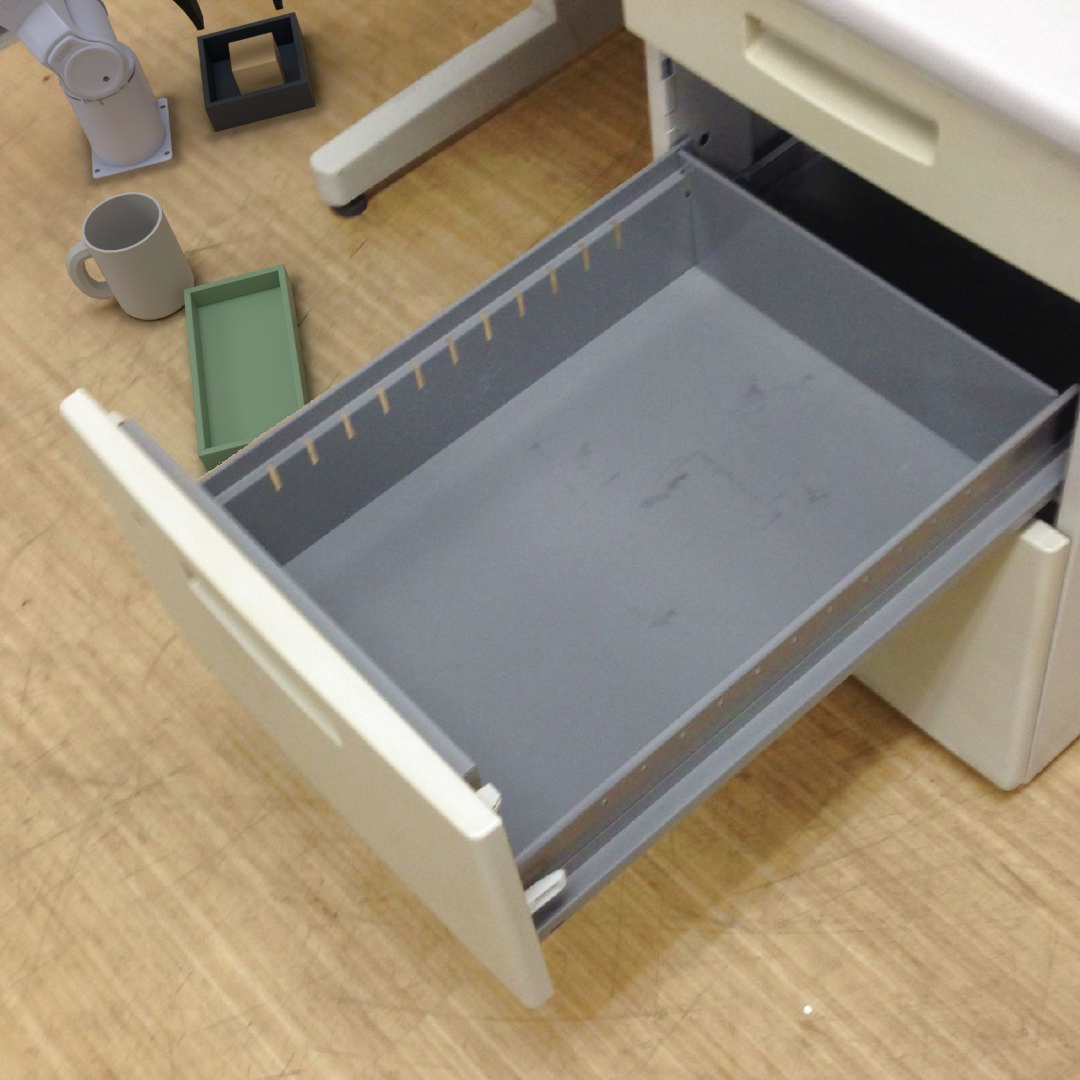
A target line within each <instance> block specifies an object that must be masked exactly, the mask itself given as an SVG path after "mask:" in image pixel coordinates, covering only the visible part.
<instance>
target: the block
mask: <svg viewBox="0 0 1080 1080" xmlns="http://www.w3.org/2000/svg"><path fill="white" fill-rule="evenodd" d="M229 51H230V59H231V66H232V72H233V75H234V77H235V80H236V82H237V85H238V88H239V90H240V93H241V95H243V94H247V93H251V92H255V91H259V90H263V89H266V88H270V87H274V86H278V85H282V84H286V83H287V80H286V74H285V68H284V65H283V63H282V60H281V57H280V54H279V51H278V49H277V46H276V43H275V40H274V37H273V34H272V32H271V33H267V34H263V35H259V36H255V37H251V38H247V39H244V40H240V41H236V42H232V43H229Z"/></svg>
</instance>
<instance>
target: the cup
mask: <svg viewBox="0 0 1080 1080" xmlns="http://www.w3.org/2000/svg"><path fill="white" fill-rule="evenodd" d="M80 235H81V238H82V240H79V241H78V242H76V243H75V244H73V245H72V247H71V248H70V250H69V251H68V253H67V255H66V258H65V268H66V272H67V274H68V277H69V278H70V280H71V281H72V283H73V284H74V285H75V286H76V287H77V288H78V290H79V291H80V292H81V293H83V294H84V295H86V296H88V297H89V298H91V299H94V300H98V301H103V300H111V299H115V300H116V301H117V303H118V304H119V306H120V307H121V309H122V310H123V311H124V313H126V314H127V315H129V316H131V317H133V318H135V319H139V320H144V321H153V320H159V319H164V318H165V317H168V316H171V315H173V314H175V313H176V312H177V311H179V310H181V309H182V308H183V307H184V306H185V301H184V289H188V288H192V287H195V275H194V273H193V271H192V268H191V265H190V264H189V261H188V259H187V257H186V255H185V253H184V251H183V249H182V246H181V245H180V243H179V240H178V239H177V236H176V234H175V233H174V231H173V228H172V226H171V224H170V222H169V220H168V218H167V216H166V214H165V212H164V210H163V208H162V206H161V204H160V202H159V201H158V200H157V199H156V198H155V197H154V196H152V195H149V194H148V193H144V192H139V191H127V192H122V193H117V194H115V195H113V196H110V197H107V198H106V199H104V200H103V201H101V202H98V203H97V204H96V205H95V206H94V207H93V208H92V209H91V210H90V211H89V212H88V213H87V215H86V216H85V218H84V219H83V222H82V225H81V233H80ZM89 259H93V261H95V264H96V266H97V268H98V269H99V271H100V273H101V276H103V278H104V280H105V281H104V280H103V281H102V280H101V281H99V280H97V279H95V278H93V277H92V276H91V275H90V274H89V271H88V270H87V267H86V264H85V262H86V261H87V260H89Z"/></svg>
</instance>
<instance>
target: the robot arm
mask: <svg viewBox="0 0 1080 1080" xmlns="http://www.w3.org/2000/svg"><path fill="white" fill-rule="evenodd" d="M172 1H173V2H174V3H175V4H176V5H177V6H178V7H179V8H180V9H181V10H182V11H183V13H184V14H185V15H186V16H187V18H189V20H190V22H191V23H192V25H194V27H195V29H196V30H197V31H199V32H200V31H203V30H205V22H204V15H203V11H202V9H201V6H200V4H199V2H198V0H172ZM272 2H273V3H272V4H273V6H274V8H275V11H280V10H283V9H284V3H283V0H272ZM0 26H1V27H2V28H4V29H6V30H7V31H9V32H11V33H12V34H14V35H15V36H16V37H17V38H18V39H19V41H20V42H21V43H22V44H23V45H24V46H25V47H26V49H27V50H28V51H29V52H30V53H31V55H32V56H33V57H34V59H36V61H37V62H38V63H39V64H40V65H41V66H43V67H45V68H47V69H48V70H50V71H51V72H53V73H54V75H55V76H56V77H57V78H58V82H59V85H60V87H61V89H62V91H63V93H64V95H65V97H66V99H67V101H68V103H69V105H70V107H71V109H72V111H73V113H74V115H75V117H76V118H77V119H76V120H77V121H78V122H79V124H80V127H81V129H82V130H83V133H84V134H85V136H86V138H87V140H88V142H89V144H90V146H91V147H90V148H91V167H92V169H91V170H92V177H93V179H95V180H98V179H102V178H106V177H111V176H114V175H118V174H122V173H126V172H130V171H134V170H138V169H142V168H146V167H149V166H153V165H157V164H161V163H165V162H169V161H171V160H172V159H173V157H174V154H173V145H172V143H173V142H172V133H171V123H170V113H169V102H168V101H169V100H168V98H166V97H159V98H157V97H156V94H155V93H154V90H153V88H152V86H151V84H150V82H149V79H148V77H147V75H146V73H145V70H144V68H143V66H142V64H141V62H140V60H139V56H137V55H138V54H136V52H135V51H134V50H133V49H132V48H131V46H128V45H127V44H126V43H124V42H122V41H121V40H120V41H119V39H118V38H117V35H116V32H115V30H114V28H113V25H112V23H111V20H110V19H109V12H108V10H107V7H106V4H105V2H104V1H103V0H0ZM163 107H164V108H163ZM167 153H168V154H167Z"/></svg>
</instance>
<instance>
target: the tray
mask: <svg viewBox="0 0 1080 1080" xmlns="http://www.w3.org/2000/svg"><path fill="white" fill-rule="evenodd" d="M294 297H295V296H294V290H293V284H292V281H291V278H290V276H289V274H288V271H287V268H286V266H285V264H283V263H282V264H279V265H274V266H271V267H266V268H263V269H259V270H256V271H251V272H247V273H243V274H238V275H235V276H232V277H227V278H223V279H219V280H216V281H212V282H208V283H204V284H199V285H195V286H194V287H192V288H188V289H184V301H185V304H184V310H185V312H184V313H185V321H186V322H185V323H186V333H187V341H188V342H187V344H188V355H189V365H190V375H191V387H192V398H193V408H194V419H195V430H196V442H197V451H198V457H199V459H200V461H201V463H202V465H203V466H204V468H205V470H206V472H207V473H208V471H210V470H212V469H214V468H215V467H216V466H217V465H220V464H222V462H223V461H225V460H227V459H228V458H229V457H231V456H232V455H233V454H236V453H237V452H238V450H240V449H243V448H244V447H245V446H247V445H248V444H249V443H251V442H252V441H253V440H254V439H255V438H258V437H259V436H260V435H261V434H262V433H264V432H266V431H268V430H269V429H270V428H271V427H274V426H276V424H277V423H279V422H281V421H282V420H284V419H285V418H287V416H291V415H292V414H293V413H295V412H296V411H297V410H299V409H301V408H302V407H303V406H304V405H306V404H308V403H309V404H310V398H309V392H308V385H307V377H306V371H305V365H304V358H303V351H302V346H301V345H302V343H301V337H300V331H299V325H298V324H299V323H298V318H297V317H298V316H297V310H296V305H295V304H296V303H295V298H294ZM219 462H220V463H219Z"/></svg>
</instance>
